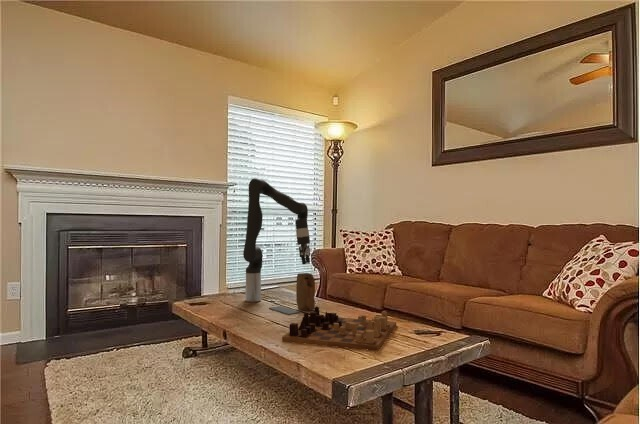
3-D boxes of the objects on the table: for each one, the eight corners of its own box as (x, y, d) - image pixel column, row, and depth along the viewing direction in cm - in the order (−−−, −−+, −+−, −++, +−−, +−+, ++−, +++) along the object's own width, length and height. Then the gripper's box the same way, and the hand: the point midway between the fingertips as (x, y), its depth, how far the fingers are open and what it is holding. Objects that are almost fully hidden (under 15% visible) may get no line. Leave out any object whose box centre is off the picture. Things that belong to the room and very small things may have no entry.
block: (295, 308, 241) (295, 273, 241) (306, 307, 245) (306, 271, 246) (305, 312, 232) (305, 275, 232) (317, 310, 236) (316, 273, 237)
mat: (268, 308, 242) (268, 307, 242) (280, 306, 246) (280, 305, 246) (288, 314, 226) (288, 313, 226) (300, 312, 230) (300, 311, 230)
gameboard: (377, 352, 164) (377, 328, 164) (282, 343, 178) (282, 320, 178) (396, 327, 201) (396, 307, 201) (316, 320, 215) (316, 302, 215)
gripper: (300, 236, 261) (303, 263, 260) (293, 237, 247) (296, 265, 246) (312, 235, 259) (315, 262, 258) (305, 235, 245) (309, 264, 244)
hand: (306, 263), depth 252 cm, fingers open, 8 cm apart
